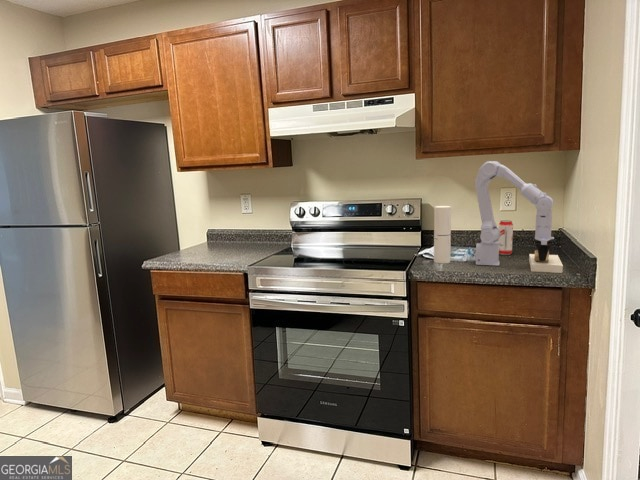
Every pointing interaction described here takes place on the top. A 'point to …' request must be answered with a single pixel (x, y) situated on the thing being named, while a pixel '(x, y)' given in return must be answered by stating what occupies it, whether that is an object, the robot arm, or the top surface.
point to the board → (546, 264)
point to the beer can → (505, 237)
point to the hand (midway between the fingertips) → (541, 259)
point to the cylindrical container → (442, 234)
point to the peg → (538, 257)
